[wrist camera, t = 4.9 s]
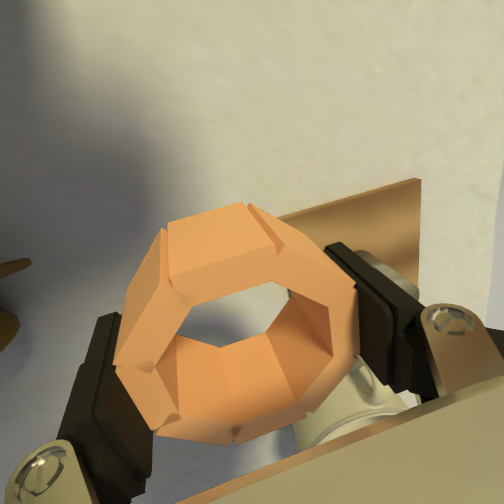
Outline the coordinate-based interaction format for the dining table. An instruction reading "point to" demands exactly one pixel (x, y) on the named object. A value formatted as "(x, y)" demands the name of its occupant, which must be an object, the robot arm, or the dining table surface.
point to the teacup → (348, 408)
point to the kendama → (4, 323)
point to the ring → (242, 352)
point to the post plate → (372, 229)
